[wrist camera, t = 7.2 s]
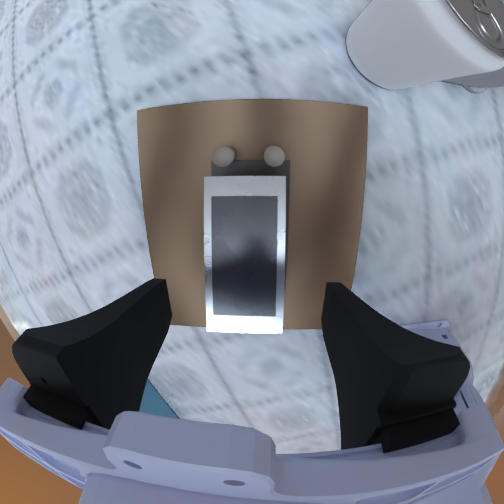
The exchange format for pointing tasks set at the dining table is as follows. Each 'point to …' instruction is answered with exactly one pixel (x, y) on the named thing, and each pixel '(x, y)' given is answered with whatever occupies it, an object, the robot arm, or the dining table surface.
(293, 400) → the dining table surface
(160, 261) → the pin tray
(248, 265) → the block
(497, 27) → the can
